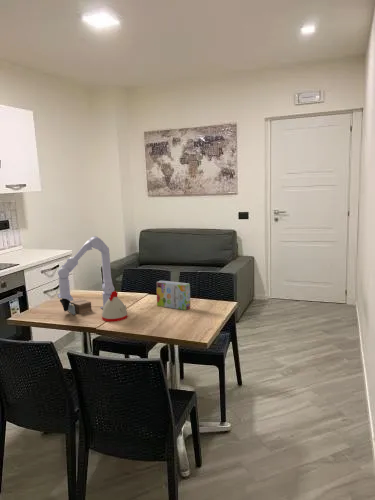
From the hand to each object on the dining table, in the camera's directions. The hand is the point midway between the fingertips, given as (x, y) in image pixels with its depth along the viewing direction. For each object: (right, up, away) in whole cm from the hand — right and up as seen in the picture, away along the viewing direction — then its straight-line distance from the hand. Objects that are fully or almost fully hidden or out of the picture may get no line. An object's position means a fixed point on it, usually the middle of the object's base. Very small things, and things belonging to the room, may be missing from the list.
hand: (66, 310), depth 236 cm
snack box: (+63, +1, +5) cm, 63 cm away
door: (+2, -1, +1) cm, 3 cm away
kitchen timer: (+30, -2, -10) cm, 32 cm away
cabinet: (+7, -1, +5) cm, 9 cm away
